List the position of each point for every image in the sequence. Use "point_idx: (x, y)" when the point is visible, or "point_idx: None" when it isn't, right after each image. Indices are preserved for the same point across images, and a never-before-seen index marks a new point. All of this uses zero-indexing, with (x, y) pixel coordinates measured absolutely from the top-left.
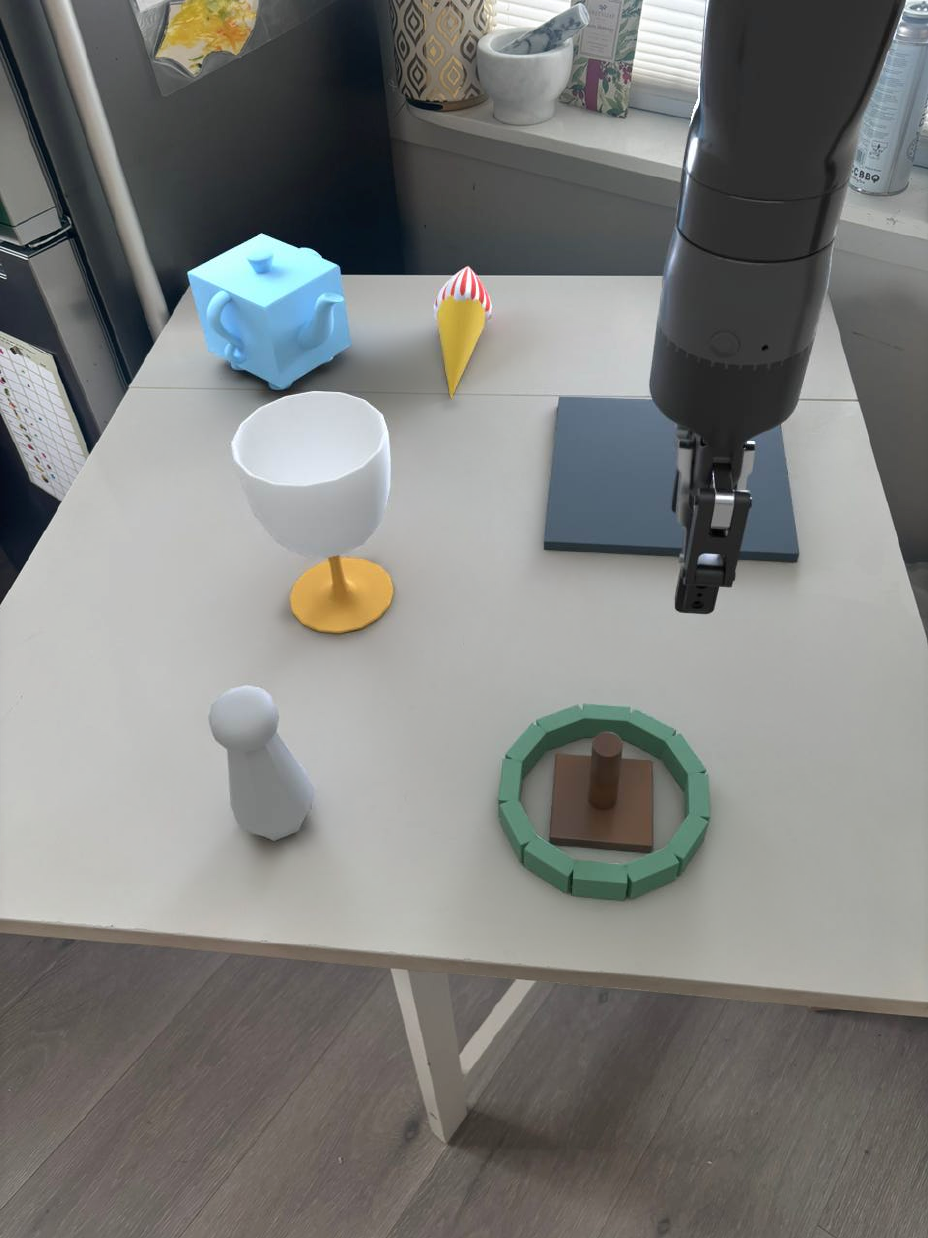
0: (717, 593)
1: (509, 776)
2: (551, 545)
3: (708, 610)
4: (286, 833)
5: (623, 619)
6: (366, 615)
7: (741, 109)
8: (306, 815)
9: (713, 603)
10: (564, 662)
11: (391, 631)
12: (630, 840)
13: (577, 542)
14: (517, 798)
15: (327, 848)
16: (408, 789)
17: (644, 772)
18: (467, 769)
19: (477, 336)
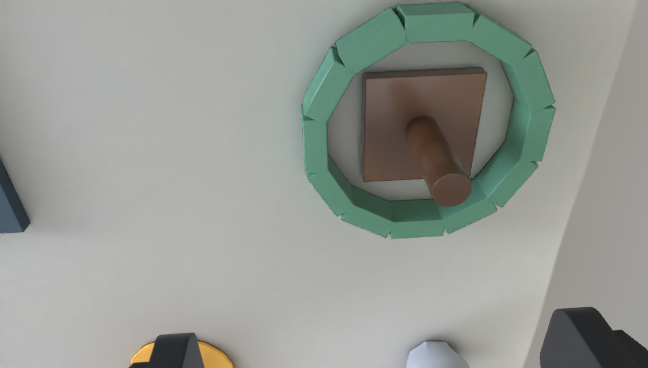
0: (637, 366)
1: (414, 231)
2: (23, 220)
3: (642, 347)
4: (460, 356)
5: (119, 120)
6: (205, 352)
7: None
8: (441, 348)
9: (611, 334)
10: (216, 180)
11: (217, 330)
12: (479, 98)
13: (4, 195)
14: (441, 220)
15: (461, 322)
16: (402, 284)
17: (385, 87)
18: (377, 246)
19: None
